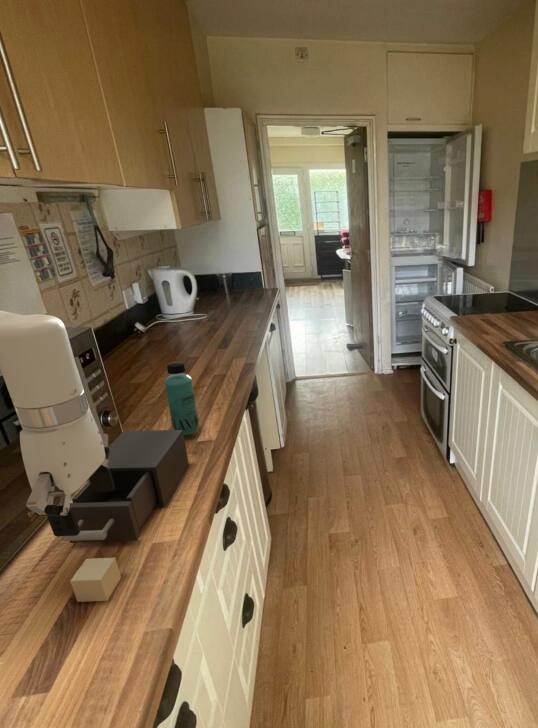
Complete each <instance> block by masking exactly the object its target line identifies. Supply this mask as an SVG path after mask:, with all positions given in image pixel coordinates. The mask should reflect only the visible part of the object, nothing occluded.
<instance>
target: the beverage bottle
mask: <svg viewBox="0 0 538 728" xmlns="http://www.w3.org/2000/svg"><path fill="white" fill-rule="evenodd" d="M166 368H167V370H166V371H167V374H169V376H168V377H167V378H166V379H165V380H164V385H165V391H166V397H167V401H168V410H169V416H170V422H171V428H172V430H183V435H184V436H189V435H192V434H194V433H196V432H198V431H199V428H200V423H199V421H200V420H199V414H198V409H197V405H196V404H197V403H196V397H195V395H196V394H195V392H194V386H193V378H192V377H191V376H190V375H188V374H186V373H185V372H187V368H186V365H185V362H183V361H172V362H169V363H168V364H167V365H166Z"/></svg>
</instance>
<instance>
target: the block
mask: <svg viewBox="0 0 538 728" xmlns="http://www.w3.org/2000/svg"><path fill="white" fill-rule="evenodd" d="M121 579H122V576H121V573H120V569H119V566H118V562H117V558H116V557H94V558H91V557H90V558H86V559H85V560H84V561H83V562H82V564H81V565H80V567H79V568H78V569H77V571H76V572H75V573H74V575H73V577H72V578H71V579H70V581H69V583H70V585H71V588H72V590H73V593H74V596H75V598H76V602H77V603H83V602H86V603H87V602H105V601H106V602H107V601H108V600H109V599H110V597H111V595H112V594H113V592H114V590H115V589H116V587H117V585H118V583H120V581H121Z"/></svg>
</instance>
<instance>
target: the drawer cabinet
mask: <svg viewBox="0 0 538 728" xmlns="http://www.w3.org/2000/svg"><path fill="white" fill-rule="evenodd" d="M107 447H108V448H109V451H110V452H109V456H108V460H109V461H110V467H109V468H107V469H110V472H114V471H152V472H153V477H154V481H155V485H156V490H157V494H158V501H157V502H156V504H155V506H154V507H153V508H165V507H166V505H167V503H168V502H169V501H170V498H171V497H172V495H173V493H174V492H175V491H176V488H177V487H178V485H179V484H180V482H181V480H182V479H183V477H184V475H185V474H186V472H187V471H188V469H189V467H190V462H189V458H188V451H187V445H186V441H185V435H183V430H173V429H165V430H164V429H160V430H159V429H156V430H155V429H154V430H153V429H151V430H150V429H149V430H148V429H145V430H123V431H122V432H121V433H120V434H119V435H118V436H117V437H116V439H115V440H113V442H111V443H110V444H109V445H108V446H107Z"/></svg>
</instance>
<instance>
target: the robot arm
mask: <svg viewBox="0 0 538 728" xmlns="http://www.w3.org/2000/svg"><path fill="white" fill-rule="evenodd" d="M0 372H1V374H2V377H3V380H4V382H5V383H4V384H5V385H6V388H7V391H8V394H9V397H10V399H11V403H12V405H13V407H14V410H15V413H16V416H17V418H18V422H19V423H20V427H21V428H22V429H21V430H20V431H19V443H20V451H21V457H22V461H23V466H24V469H25V473H26V477H27V480H28V483H29V485H30V488H31V493H30V495H29V496H28V499H27V501H26V503H25V505H26V508H27V509H29V510H30V511H32V512H33V513H34V514H35V516H41V517H44V518H45V517H46V518H47V520H48V523H49V526H50V528H51V531H52V534H53V536H55V537H57V538H58V537H64V536H77V535H78V534H79V533H80V528H79V525H78V522H77V519H76V516H75V513H74V511H73V510H69V507H70V503H71V502H72V495H73V494H75V493H76V492H78V491H79V490H80V489H81V487H83V486H84V485H85V484H86V483H87V482H88V481H90V484H91V488H92V491H93V492H112V491H113V490H114V489H115V485H114V482H113V479H112V475H111V472H110V469H107V468H109V467H110V461H109V460H108V456H109V452H110V451H109V448H108V447H109V434H108V433H100V430H99V428H98V425H97V423H96V420H95V417H94V416H93V414H92V411H91V410H90V406H89V403H88V400H87V397H86V393H85V390H84V386H83V383H82V380H81V376H80V373H79V369H78V366H77V362H76V359H75V356H74V352H73V348H72V345H71V342H70V338H69V334H68V332H67V329H66V326H65V324H64V323H63V321H62V320H61V319H59V317H56V316H54V315H51V314H42V313H41V314H38V313H37V314H25V315H23V314H18V313H13V312H9V311H5V310H0ZM56 487H57V488H58V489H59V490H55V488H56ZM55 497H60V504H59V505H56V504H54V500H55Z"/></svg>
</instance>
